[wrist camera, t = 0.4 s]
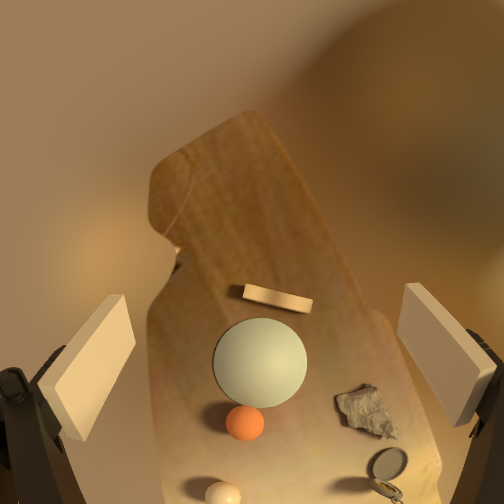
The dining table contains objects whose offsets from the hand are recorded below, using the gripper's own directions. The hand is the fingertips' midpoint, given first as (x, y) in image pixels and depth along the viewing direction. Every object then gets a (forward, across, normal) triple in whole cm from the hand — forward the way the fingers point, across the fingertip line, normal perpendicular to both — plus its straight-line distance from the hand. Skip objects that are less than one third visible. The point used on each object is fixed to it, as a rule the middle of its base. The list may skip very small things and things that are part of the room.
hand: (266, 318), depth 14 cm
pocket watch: (+15, -20, +42) cm, 48 cm away
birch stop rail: (+31, -2, +15) cm, 35 cm away
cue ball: (+11, +7, +40) cm, 42 cm away
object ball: (+18, +3, +29) cm, 35 cm away
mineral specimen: (+21, -16, +32) cm, 42 cm away
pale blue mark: (+26, +1, +23) cm, 35 cm away
